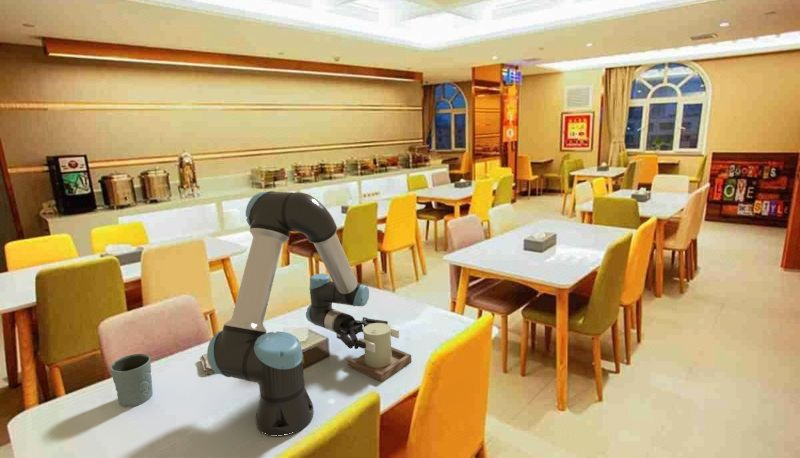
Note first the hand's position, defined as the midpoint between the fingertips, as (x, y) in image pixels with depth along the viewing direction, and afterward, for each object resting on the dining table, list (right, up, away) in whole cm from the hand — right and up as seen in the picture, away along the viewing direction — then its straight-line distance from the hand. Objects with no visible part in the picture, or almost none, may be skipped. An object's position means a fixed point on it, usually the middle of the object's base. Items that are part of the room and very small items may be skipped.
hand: (386, 341), depth 139 cm
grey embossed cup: (-74, -15, -10) cm, 76 cm away
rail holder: (-2, -9, +4) cm, 10 cm away
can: (-3, -8, +5) cm, 9 cm away
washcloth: (-54, -10, +10) cm, 56 cm away
